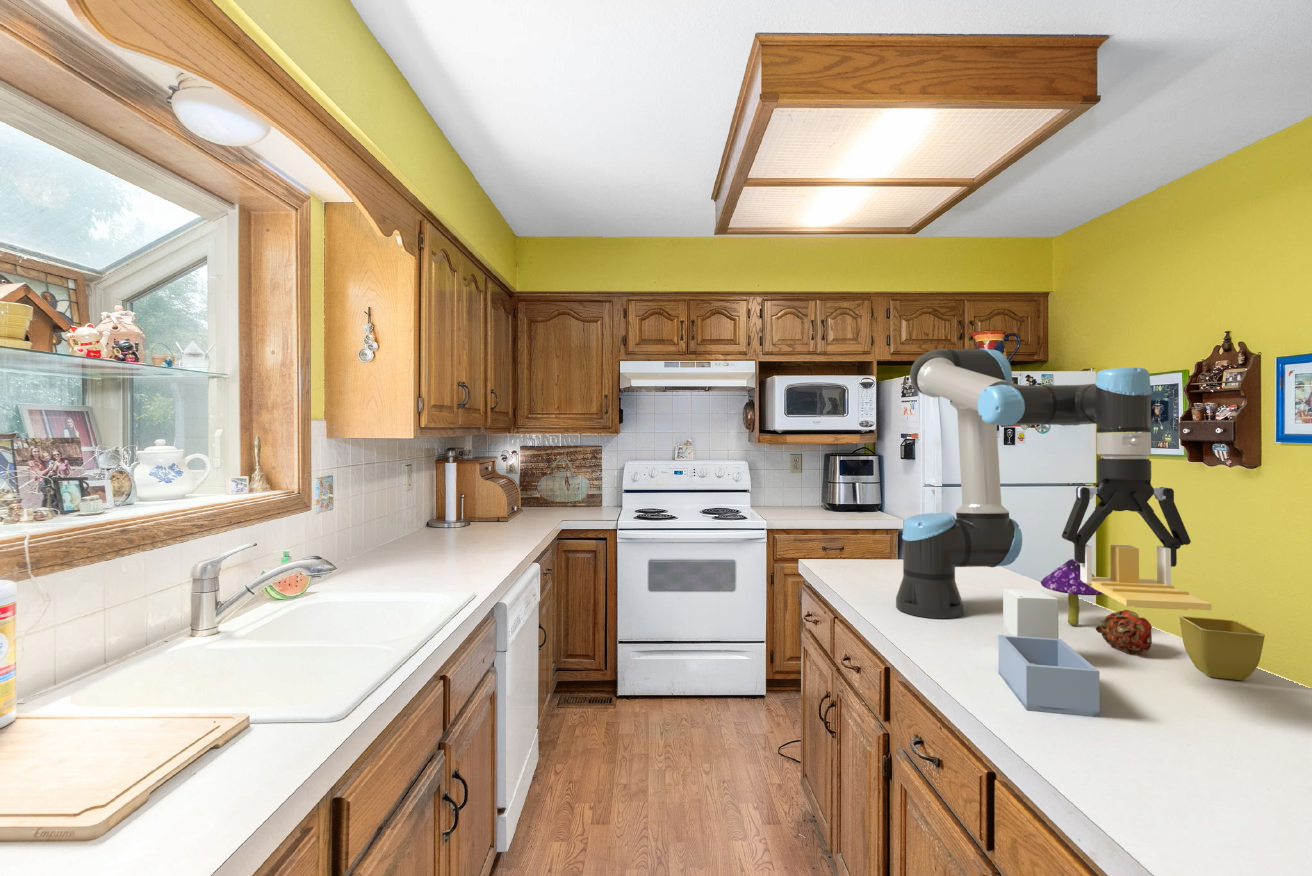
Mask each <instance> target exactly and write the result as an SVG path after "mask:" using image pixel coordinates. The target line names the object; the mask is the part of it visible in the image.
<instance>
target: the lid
mask: <svg viewBox="0 0 1312 876" xmlns="http://www.w3.org/2000/svg"><path fill="white" fill-rule="evenodd" d="M1109 547H1110V550H1109V551H1110V554H1109V557H1110V562H1109V563H1110V577H1108V576H1107V577H1105V576H1104V577H1101V576H1095V577H1092V584H1087V583H1085V582H1083V581H1082V582H1083V583H1085V584H1087V585H1089V586H1091V587H1092V588H1094V589H1096V590H1098V591H1100V592H1102V593H1103V594H1102V595H1105V596H1108V597H1109V598H1111V599H1113V600H1114V601H1116V602H1118V603H1120V604H1122V605H1124V606H1125V607H1134V608H1140V609H1141V608H1142V609H1143V608H1145V609H1160V610H1161V609H1165V610H1183V611H1185V610H1186V611H1188V610H1196V611H1197V610H1199V611H1212V603H1211V602H1208V601H1206V600H1203V599H1202V598H1199V597H1197V596H1194V595H1192V594H1190V593H1189V591H1186V590H1180V589H1178V588H1176V587H1175V586H1174V585H1173V584H1171V585H1166V584H1164V583H1161V582H1159V581H1157V579H1153V578H1152V579H1151V578H1140V558H1139V557H1140V551H1139V550H1140V549H1139V547H1135V546H1132V545H1131V544H1128V545H1124V544H1123V545H1122V544H1110V546H1109Z"/></svg>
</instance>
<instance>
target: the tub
mask: <svg viewBox="0 0 1312 876" xmlns="http://www.w3.org/2000/svg"><path fill="white" fill-rule="evenodd" d="M997 647H998V675H999V676H1000V678H1002V680H1003V681H1004V682H1005V684H1006V685H1007V687H1008V688H1009V689H1010V690H1011V692H1012V693H1013V694H1014V696H1015V698H1017V700H1018V701H1019V702H1020V704H1021V705H1022V706H1023V708H1025V710H1026V711H1033V712H1044V713H1054V714H1055V713H1056V714H1064V715H1065V714H1066V715H1075V716H1085V717H1098V718H1100V717H1101V715H1100V713H1101V711H1100V708H1101V706H1100V705H1101V703H1100V700H1101V699H1100V697H1101V696H1100V694H1101V693H1100V691H1101V690H1100V688H1101V687H1100V684H1101V683H1100V676H1101V675H1100V674H1101V673H1100V670H1098V669H1097V668H1096V667H1095V666H1094V665H1092V664H1091V663H1090V662H1089V661H1088V660H1086V658H1084V657H1083V656H1082V654H1080V653H1078V652H1077V651H1076V650H1075V649H1074V648H1072V647H1071V646H1070V645H1069V644H1068V643H1066V642H1065V640H1063V639H1061V638H1059V639H1052V638H1037V637H1022V636H1007V635H1004V634H998V646H997Z"/></svg>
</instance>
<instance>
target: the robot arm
mask: <svg viewBox="0 0 1312 876" xmlns="http://www.w3.org/2000/svg"><path fill="white" fill-rule="evenodd" d="M1095 378H1096V379H1095V383H1087V384H1062V385H1061V384H1057V385H1056V384H1055V385H1053V384H1051V385H1049V384H1048V385H1044V384H1043V385H1041V384H1040V385H1029V384H1028V385H1025V384H1024V385H1022V384H1018V383H1015V382H1014V383H1013V382H1012V381H1013V372H1012V366H1011V364H1010V362H1009V359H1008V358H1007V357H1006V355H1005V354H1003V353H1002V352H1001V351H999V350H996V349H990V348H989V349H988V348H981V347H980V348H954V349H953V348H952V349H951V348H950V349H947V348H940V349H933V350H930V351H927V352H925V353H923V354H922V355H920V356H919V357H917V359H916V360H915V361H914V362H913V364H912V365H911V368H910V372H909V379H910V382H911V385H912V387H913V388H914V389H915V390H916V391H917V392H918V393H920V394H922V395H924V396H928V397H930V398H944V399H946V400H949V403H950V404H949V405H950V406H951V407H953V408H954V409H956V412H957V414H956V415H957V429H958V430H957V431H958V449H959V450H958V451H959V453H958V454H959V468H960V469H959V470H960V486H961V502H962V503H961V506H960V507H959V508H958V509H956V511H955V515H956V516H955V515H953V514H952V513H948V512H947V513H946V512H935V513H934V512H931V513H927V512H926V513H921V514H920V513H919V514H915V515H912V516H909V517H907V518H906V519H905V520H904V522H903V528H902V535H901V538H902V562H903V567H902V568H903V569H902V570H903V571H902V572H903V573H902V575H903V576H902V580H901V582H900V585H899V587H898V590H897V594H896V597H895V608H896V609H897V610H898V611H901V612H902V613H905V614H908V615H911V616H916V617H921V618H928V619H955V618H958V617H961V616H963V615H964V603H963V600H962V597H961V594H960V592H959V588H958V586H957V583H956V568H978V567H979V568H982V567H984V568H985V567H988V568H997V567H1005V566H1009V565H1011V564H1013V563H1014V562H1015V561H1016V559H1017V558H1018V557H1019V555H1020V554H1021V550H1022V548H1023V547H1022V546H1023V533H1022V530H1021V528H1020V525H1019V524H1018V522H1017V521H1016V520H1014V519H1012V518H1011V517H1010V511H1009V510H1008V509H1006V508H1005V507H1004V506H1003V504H1002V492H1001V476H1000V475H1001V474H1000V472H1001V471H1000V460H999V458H1000V457H999V442H998V441H999V440H998V426H1002V427H1008V426H1009V427H1010V426H1036V425H1038V426H1039V425H1041V426H1042V425H1043V426H1046V425H1047V426H1048V425H1049V426H1051V425H1053V426H1054V425H1055V426H1056V425H1057V426H1060V425H1061V426H1080V425H1096V455H1098V456H1100V458H1098V459H1097V460H1096V479H1097V481H1096V482H1097V483H1096V485H1095V486H1094V487H1091V486H1090V487H1086V486H1082V485H1081V486H1077V487H1076V489H1075V498H1076V499H1075V501H1074V503H1073V505H1072V509H1071V510H1070V514H1069V516H1068V519H1067V521H1066V523H1065V526H1064V528H1063V531H1062V534H1061V538H1062V539H1064V540H1066V541H1068V542H1071V543H1072V544H1073V545H1074V546H1073V547H1074V548H1073V549H1074V550H1073V551H1074V553H1073V555H1074V557H1073V558H1074V559H1075V561H1076V562H1078V563H1080V580H1081V581H1083V582H1085V583H1087V584H1092V574H1093V573H1092V572H1093V571H1092V570H1093V561H1092V560H1093V557H1092V554H1093V553H1092V549H1093V548H1092V547H1093V545H1089V544H1087V543H1088V542H1089V541H1090V540H1091V538H1092V537H1093V535H1094V534H1095V533H1096V531H1098V529H1099V527H1101V525H1102V524H1103V523H1104V521H1105V520H1106V518H1108V516H1109V515H1111V514H1112V513H1113V512H1125V511H1129V512H1136V513H1138V514H1139V515H1140V516H1141V518H1142V519H1143V520H1144V522H1145V523H1146V524H1147V526H1148V527H1149V528H1150V530H1151V531H1152V532H1153V533H1154V535H1155V536H1156V538H1157V539H1158V540H1159V541H1160V543H1161V544H1162V545H1156V580H1157V581H1159V582H1161V583H1164V584H1166V585H1172V567H1174V568H1175V567H1176V566H1177V564H1178V563H1177V559H1178V558H1177V557H1178V556H1177V555H1178V554H1177V550H1179V549H1180V548H1181V547H1182V546H1184V545H1187V546H1188V545H1190V544H1191V539H1190V536H1189V534H1188V531H1187V528H1186V527H1185V525H1184V521H1183V520H1182V517H1181V515H1180V513H1179V512H1180V511H1179V510H1178V508H1177V506H1176V503H1175V491H1174V488H1170V487H1165V486H1164V487H1163V486H1161V487H1153V485H1152V483H1151V481H1152V461H1151V460H1150V458H1147V457H1148V456H1151V454H1152V432H1151V431H1152V426H1151V425H1152V419H1151V418H1152V393H1153V390H1152V386H1151V379H1150V378H1151V376H1150V372H1149V371H1148V369H1145V368H1142V367H1119V368H1118V367H1117V368H1107V369H1102V370H1099V371H1098V372H1097V373H1096V377H1095ZM1094 495H1096V496H1097V497H1098V499H1099V500H1100V501H1099V502H1098V503H1097V504H1096V506H1095V507H1094V508H1095V509H1094V510H1093V512H1092V513H1091V514H1090V516H1089V517H1088V519H1087V520H1086V521H1085V522H1084V524H1083V525H1082V522H1083V520H1084V517H1085V514H1086V512H1087V509H1088V507H1089V506H1090V505H1089V504H1090V501H1091V500H1092V499H1093V498H1094ZM1153 496H1154V498H1155V499H1156V501H1158V502H1157V503H1158V504H1159V505H1158V506H1159V507H1160V510H1161V512H1162V514H1163V517H1164V519H1165V521H1166V524H1167V526H1168V528H1169V530H1168V529H1167V527H1166V526H1165V525H1164V523H1163V522H1162V520H1160V518H1159V517H1158V515H1157V514H1156V513H1155V510H1154V509H1153V507H1152V506H1151V505H1150V504H1149V502H1148V501H1149V500H1150V499H1151V498H1152V497H1153ZM1081 525H1082V526H1081ZM1170 532H1171V533H1170Z"/></svg>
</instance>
